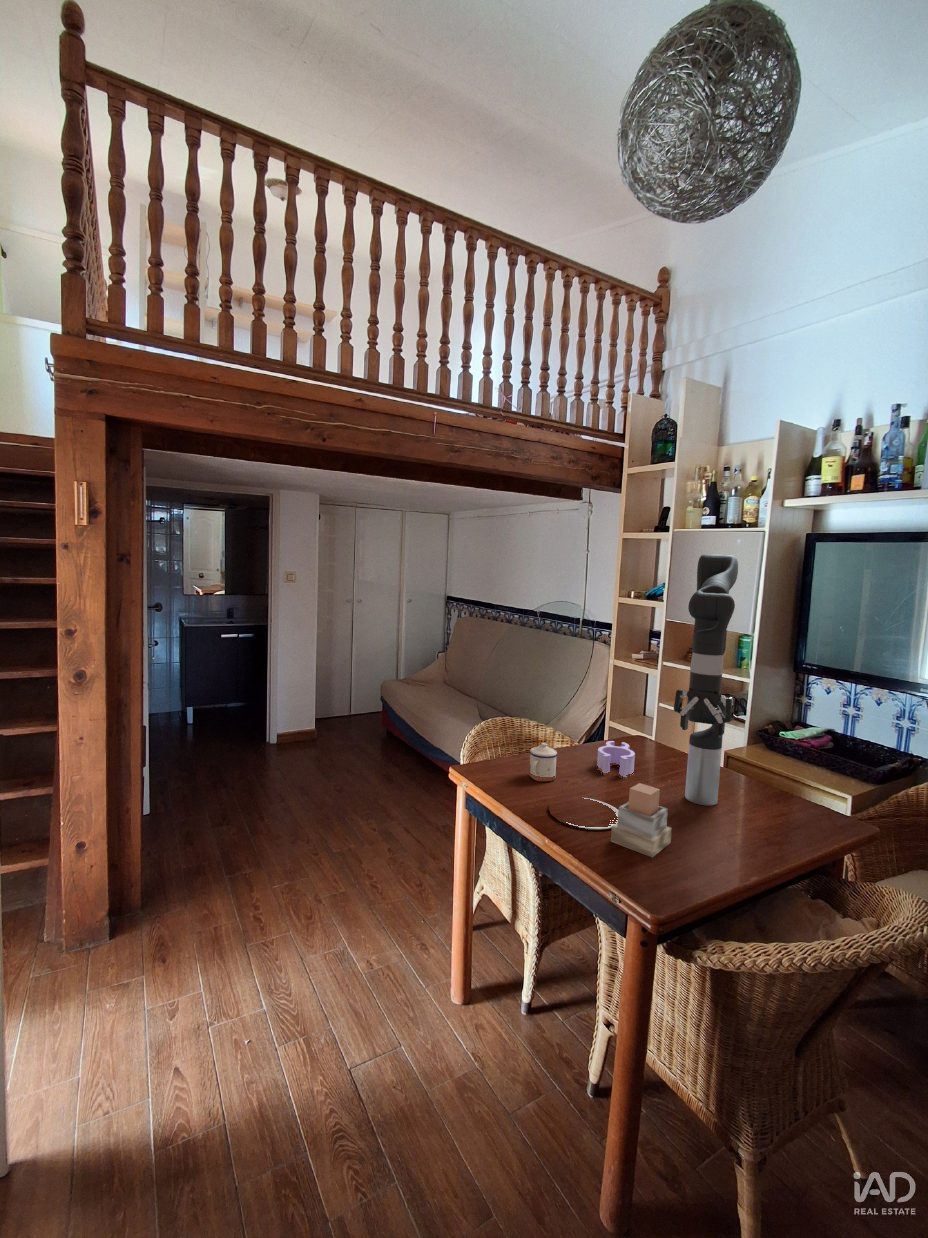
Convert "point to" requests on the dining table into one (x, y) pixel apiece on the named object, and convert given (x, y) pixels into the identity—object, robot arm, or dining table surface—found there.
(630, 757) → the clip
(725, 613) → the robot arm
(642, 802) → the top block
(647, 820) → the stepped translucent block
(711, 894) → the dining table surface
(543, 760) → the teacup with lid
